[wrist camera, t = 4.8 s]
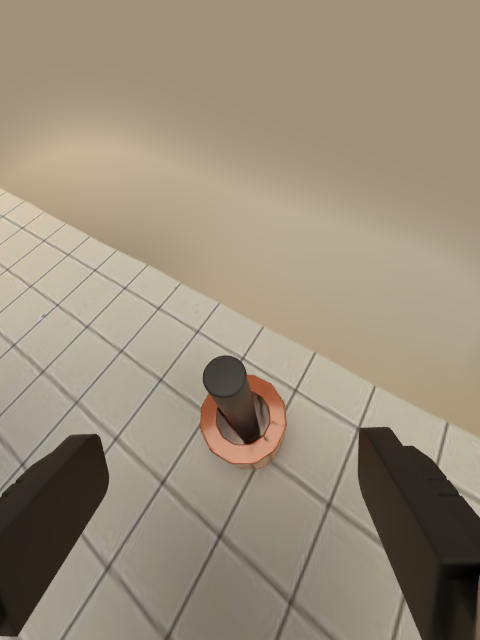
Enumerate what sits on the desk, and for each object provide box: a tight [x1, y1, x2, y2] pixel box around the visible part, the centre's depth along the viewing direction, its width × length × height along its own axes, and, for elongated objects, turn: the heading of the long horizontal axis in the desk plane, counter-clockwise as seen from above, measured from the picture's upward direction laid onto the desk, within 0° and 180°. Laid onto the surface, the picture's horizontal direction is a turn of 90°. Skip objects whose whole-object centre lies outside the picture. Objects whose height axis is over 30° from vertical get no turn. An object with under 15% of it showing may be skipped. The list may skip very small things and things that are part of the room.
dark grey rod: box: [203, 356, 260, 442], centre depth 15 cm, size 2×2×12 cm
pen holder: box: [200, 375, 287, 469], centre depth 18 cm, size 5×5×6 cm
